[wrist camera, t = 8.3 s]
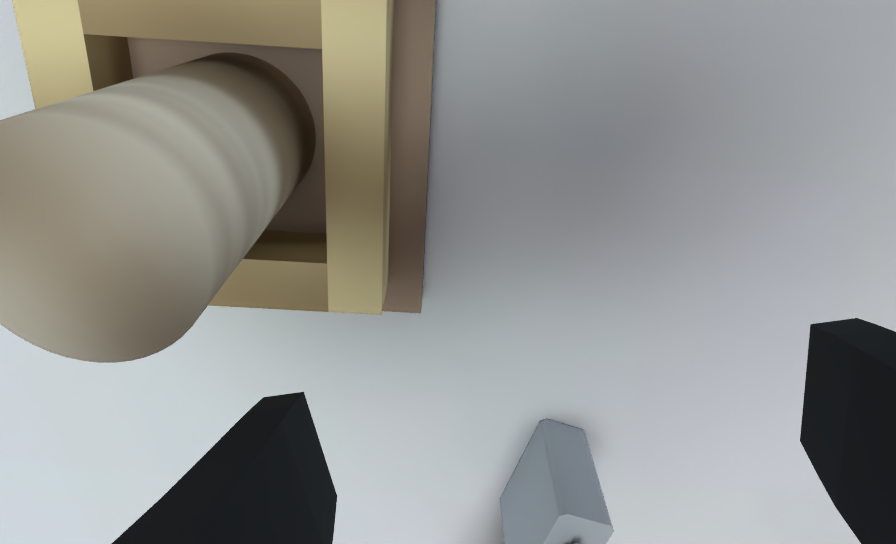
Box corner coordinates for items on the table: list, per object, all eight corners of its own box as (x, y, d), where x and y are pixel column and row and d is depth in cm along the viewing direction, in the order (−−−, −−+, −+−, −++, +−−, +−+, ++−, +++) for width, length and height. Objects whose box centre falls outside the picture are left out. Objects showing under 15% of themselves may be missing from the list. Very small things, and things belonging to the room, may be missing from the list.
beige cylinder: (231, 17, 16) (37, 49, 8) (347, 138, 17) (266, 260, 10) (131, 125, 17) (-116, 238, 9) (247, 232, 18) (107, 404, 11)
